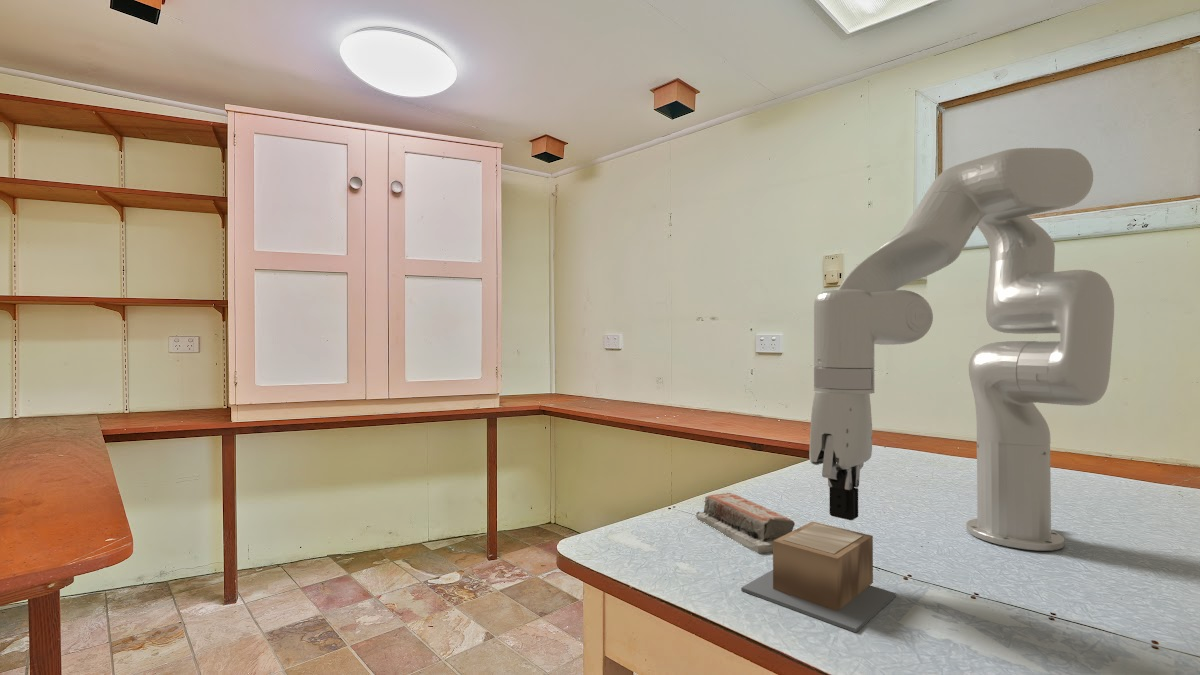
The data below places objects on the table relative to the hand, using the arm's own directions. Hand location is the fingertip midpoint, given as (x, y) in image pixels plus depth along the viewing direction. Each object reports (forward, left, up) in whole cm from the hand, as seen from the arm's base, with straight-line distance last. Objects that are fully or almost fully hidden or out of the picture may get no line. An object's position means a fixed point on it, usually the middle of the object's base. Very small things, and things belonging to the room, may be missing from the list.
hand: (843, 516), depth 74 cm
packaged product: (-6, -18, -9) cm, 21 cm away
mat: (+8, 0, -8) cm, 11 cm away
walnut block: (+1, 0, -4) cm, 4 cm away
